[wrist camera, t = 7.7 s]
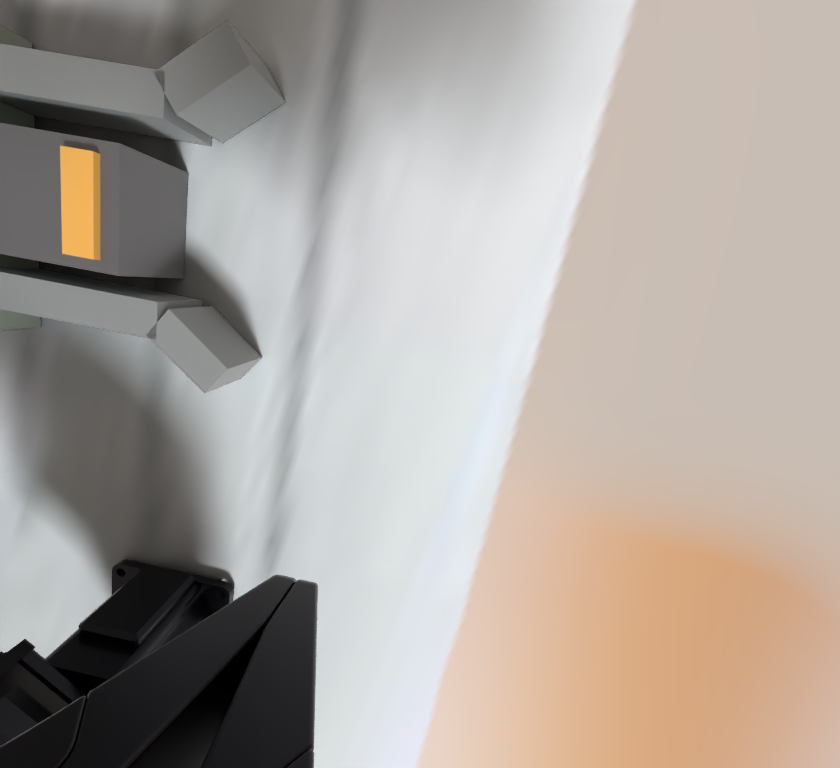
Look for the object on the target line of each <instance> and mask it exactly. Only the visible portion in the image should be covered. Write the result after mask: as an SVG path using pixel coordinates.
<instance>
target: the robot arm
mask: <svg viewBox="0 0 840 768" xmlns="http://www.w3.org/2000/svg"><path fill="white" fill-rule="evenodd" d="M221 591H222V592H224V593H225V594H224V593H222V592H221ZM317 599H318V585H317V584H316V583H314V582H310V581H305V580H297V581H296V580H295V579H294V578H291V577H287V576H282V575H274V576H272V577H271V578H269V579H268V580H266V581H264V582H263V583H261V584H260V585H258V586H257V587H255V588H253V589H252V590H250V591H249V592H247V593H245V594H244V595H242V596H241V597H239V598H238V599H236V600H234V601H233V587H232V586H231V585H230V584H229V583H227V582H224V581H220V580H215V579H211V578H206V577H202V576H197V575H193V574H188V573H184V572H179V571H175V570H170V569H166V568H161V567H157V566H152V565H148V564H144V563H139V562H135V561H130V560H121V561H120V562H119V563H117V564H116V565H115V566H114V567H113V569H112V596H111V597H109V598H108V599H107V600H106V601H105V602H104V603H103V604H101V605H100V606H99V607H98V608H97V609H96V610H95V611H94V612H92V613H91V614H90V615H89V616H88V617H87V618H86V619H85V620H83V621H82V622H81V623H80V625H79V629H78V630H77V631H76V632H75V633H73V634H72V635H71V636H70V637H69V638H68V639H67V640H66V641H65V642H63V643H62V644H61V645H60V646H59V647H58V648H57V649H56V650H54V651H53V652H52V653H51V654H50V655H49V656H48V657H47V658H46V659H44V658H43V657H42V656H41V655H39V654H38V653H37V652H36V651H35V650H33V649H34V648H35V646H33V645H32V644H31V643H30V642H29V641H27V640H26V639H24V640H23V641H22V642H20V643H19V644H18V645H16V646H15V647H14V648H12V649H11V650H10V651H8V652H7V653H6V652H5V653H3V652H2V651H1V652H0V768H314V752H313V749H314V721H315V680H316V639H317Z"/></svg>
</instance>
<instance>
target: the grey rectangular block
mask: <svg viewBox="0 0 840 768" xmlns="http://www.w3.org/2000/svg"><path fill="white" fill-rule="evenodd" d="M187 196H188V173H187V172H185V171H183V170H180V169H178V168H176V167H174V166H171V165H169V164H167V163H164V162H162V161H160V160H157V159H155V158H153V157H150V156H148V155H146V154H143V153H141V152H139V151H137V150H134V149H132V148H130V147H127V146H125V145H123V144H120V143H116V142H110V141H104V140H98V139H92V138H87V137H81V136H75V135H69V134H63V133H57V132H52V131H46V130H40V129H34V128H28V127H22V126H17V125H11V124H5V123H0V254H4V255H9V256H14V257H20V258H25V259H30V260H36V261H41V262H46V263H52V264H57V265H62V266H68V267H73V268H78V269H84V270H89V271H95V272H100V273H105V274H111V275H116V276H132V277H157V278H182V279H184V263H185V241H186V218H187Z"/></svg>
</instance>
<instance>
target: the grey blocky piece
mask: <svg viewBox="0 0 840 768" xmlns="http://www.w3.org/2000/svg"><path fill="white" fill-rule="evenodd" d="M284 103H285V100H284V98H283V96H282V94H281V92H280V90H279V88H278V86H277V84H276V82H275V80H274V78H273V76H272V74H271V72H270V70H269V68H268V67H267V65H266V64H265V63H264V62H263V60H262V59H261V58H260V57H259V56H258V55H257V53H256V52H255V51H254V50H253V49H252V48H251V46H250V45H249V44H248V43H247V42H246V40H245V39H244V38H243V37H242V36H241V35H240V33H239V32H238V31H237V30H236V29H235V28H234V26H233V25H232V24H231V23H230V22H229V21H228V20H226V21H225V22H224V23H222V24H221V25H219V26H218V27H216V28H215V29H214V30H212V31H211V32H209V33H208V34H207V35H205V36H204V37H202V38H201V39H200V40H198V41H197V42H195V43H194V44H193V45H191V46H190V47H188V48H187V49H185V50H184V51H183V52H181V53H180V54H178V55H177V56H176V57H174V58H173V59H171V60H170V61H169V62H167V63H166V64H164V65H163V66H162V67H160V68H159V69H152V68H146V67H139V66H133V65H127V64H121V63H115V62H109V61H103V60H97V59H91V58H85V57H79V56H73V55H67V54H61V53H55V52H49V51H43V50H37V49H32V43H31V42H30V41H28V40H26V39H24V38H23V37H21V36H19V35H18V34H16V33H14V32H12V31H11V30H9V29H7V28H5V27H4V26H2V25H0V123H5V124H11V125H17V126H22V127H28V128H34V129H35V120H34V116H40V117H45V118H51V119H57V120H63V121H68V122H74V123H80V124H86V125H92V126H97V127H103V128H109V129H115V130H121V131H126V132H132V133H138V134H144V135H149V136H155V137H161V138H167V139H173V140H178V141H184V142H190V143H196V144H201V145H207V146H212V137H213V138H215V139H216V140H218V141H220V142H221V143H224V142H225V141H227V140H228V139H230V138H231V137H233V136H234V135H236V134H238V133H239V132H241V131H242V130H244V129H245V128H247V127H248V126H250V125H251V124H253V123H255V122H256V121H258V120H259V119H261V118H262V117H264V116H265V115H267V114H268V113H270V112H271V111H273V110H275V109H276V108H278V107H279V106H281V105H282V104H284ZM202 302H203V300H200V299H194V298H189V297H184V296H179V295H173V294H168V293H163V292H158V291H152V290H147V289H142V288H137V287H131V286H126V285H121V284H116V283H111V282H105V281H100V280H95V279H90V278H84V277H79V276H74V275H69V274H63V273H58V272H53V271H48V270H42V269H39V261H36V260H30V259H25V258H20V257H14V256H9V255H4V254H0V331H1V330H13V329H24V328H35V327H41V317H43V318H48V319H53V320H58V321H63V322H69V323H74V324H79V325H84V326H89V327H94V328H99V329H104V330H109V331H114V332H119V333H125V334H130V335H135V336H140V337H145V338H150V339H151V340H152V341H153V342H154V343H155V344H156V345H157V346H158V347H159V348H160V349H161V350H162V351H163V352H164V353H165V354H166V355H167V356H168V357H169V358H170V359H171V360H172V361H173V362H174V363H175V364H176V365H177V366H178V367H179V368H180V369H181V370H182V371H183V372H184V373H185V374H186V375H187V376H188V377H189V378H190V379H191V380H192V381H193V382H194V383H195V384H196V385H197V386H198V387H199V388H200V389H201V390H202V391H203V392H204V393H206V392H209V391H211V390H214V389H216V388H219V387H221V386H224V385H226V384H228V383H231V382H233V381H236V380H238V379H241V378H242V377H243V376H244V375H245V374H246V373H247V372H248V371H249V370H250V369H251V368H252V367H253V366H254V365H255V364H256V363H257V362H258V361H259V360H260V359H261V358H262V357H261V356H260V355H259V354H258V353H257V352H256V351H255V350H254V349H253V347H252V346H251V345H250V344H249V343H248V342H247V341H246V340H245V339H244V338H243V337H242V336H241V335H240V334H239V333H238V332H237V331H236V330H235V329H234V328H233V327H232V326H231V325H230V324H229V323H228V322H227V321H226V320H225V319H224V318H223V317H222V316H221V315H220V314H219V312H218V311H217V310H216V309H215V308H214V307H213V306H206V307H202Z"/></svg>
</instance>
